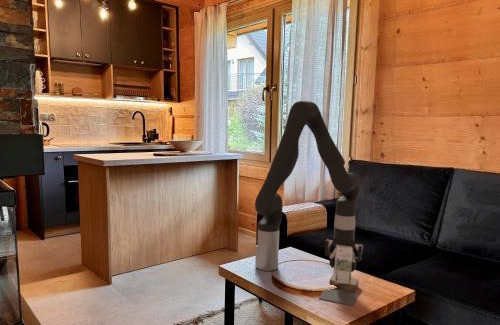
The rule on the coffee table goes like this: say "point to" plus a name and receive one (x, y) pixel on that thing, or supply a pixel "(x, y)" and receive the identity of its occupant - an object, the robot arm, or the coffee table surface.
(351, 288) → the step block
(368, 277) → the coffee table surface
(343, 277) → the syrup box
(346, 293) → the mat
